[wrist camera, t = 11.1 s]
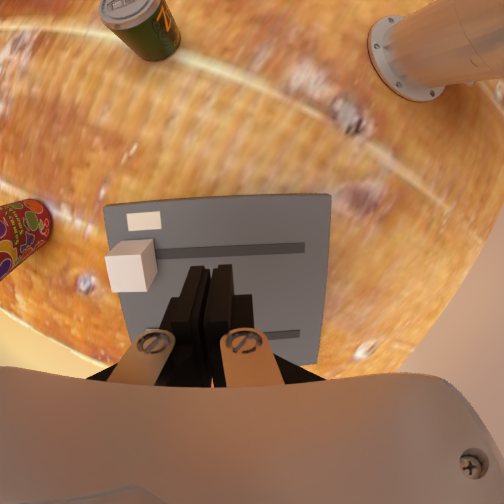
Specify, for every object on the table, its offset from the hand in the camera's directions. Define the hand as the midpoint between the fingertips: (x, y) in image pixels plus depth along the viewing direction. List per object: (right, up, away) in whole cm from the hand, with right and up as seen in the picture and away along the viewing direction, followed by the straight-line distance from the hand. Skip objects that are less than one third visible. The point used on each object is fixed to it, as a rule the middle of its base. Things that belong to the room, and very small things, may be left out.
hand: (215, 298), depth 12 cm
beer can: (-9, +26, +14) cm, 31 cm away
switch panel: (-2, -3, +25) cm, 25 cm away
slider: (-11, +1, +20) cm, 23 cm away
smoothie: (-28, +6, +20) cm, 34 cm away
